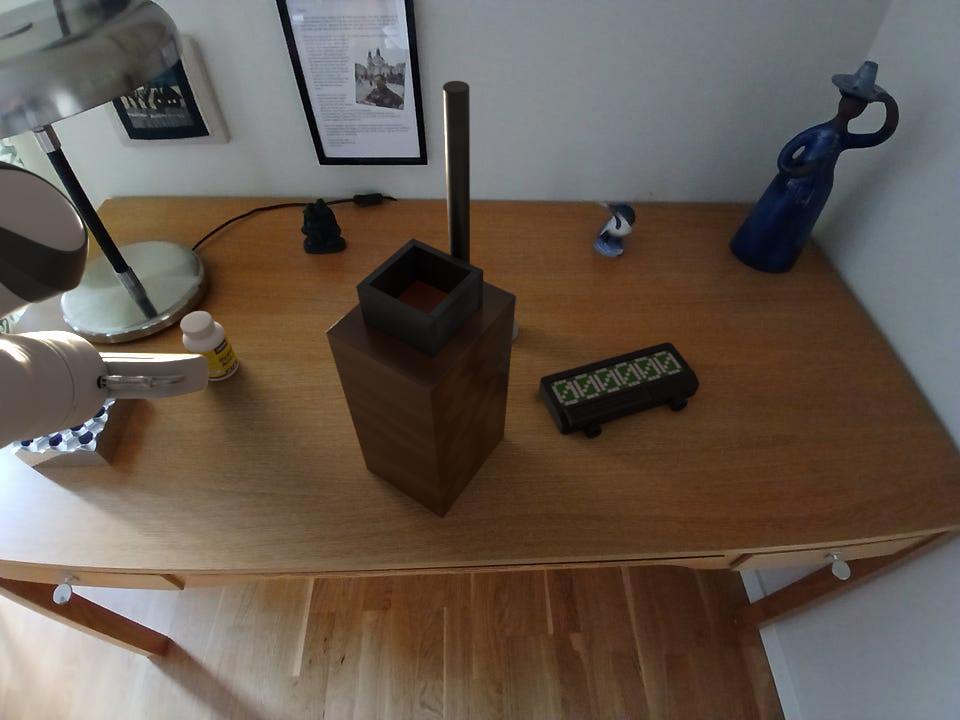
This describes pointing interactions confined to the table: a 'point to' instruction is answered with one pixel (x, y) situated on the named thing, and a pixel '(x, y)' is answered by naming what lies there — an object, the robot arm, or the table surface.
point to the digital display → (617, 388)
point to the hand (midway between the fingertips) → (141, 364)
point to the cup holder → (429, 349)
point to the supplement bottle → (209, 344)
